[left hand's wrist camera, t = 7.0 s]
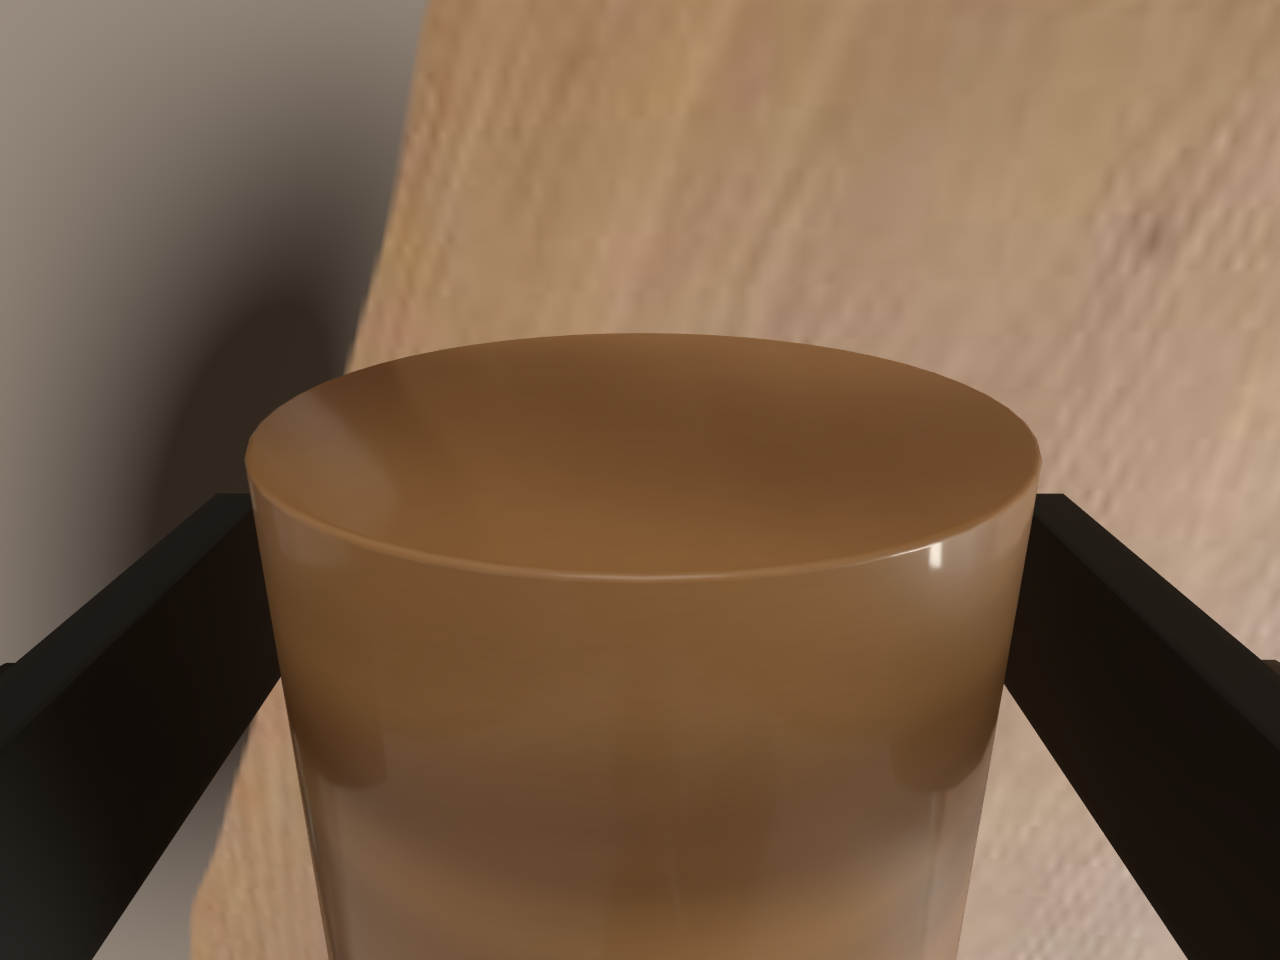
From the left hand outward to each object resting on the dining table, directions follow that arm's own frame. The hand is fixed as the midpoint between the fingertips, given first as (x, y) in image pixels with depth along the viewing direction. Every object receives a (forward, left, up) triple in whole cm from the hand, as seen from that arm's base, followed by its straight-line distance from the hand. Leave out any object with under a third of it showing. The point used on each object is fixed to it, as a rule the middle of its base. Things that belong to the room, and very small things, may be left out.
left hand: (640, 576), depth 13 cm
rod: (+8, +5, -1) cm, 9 cm away
